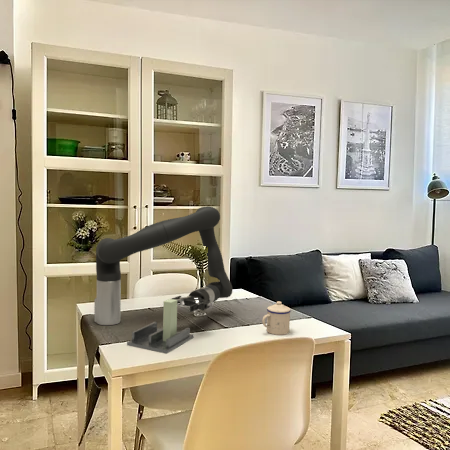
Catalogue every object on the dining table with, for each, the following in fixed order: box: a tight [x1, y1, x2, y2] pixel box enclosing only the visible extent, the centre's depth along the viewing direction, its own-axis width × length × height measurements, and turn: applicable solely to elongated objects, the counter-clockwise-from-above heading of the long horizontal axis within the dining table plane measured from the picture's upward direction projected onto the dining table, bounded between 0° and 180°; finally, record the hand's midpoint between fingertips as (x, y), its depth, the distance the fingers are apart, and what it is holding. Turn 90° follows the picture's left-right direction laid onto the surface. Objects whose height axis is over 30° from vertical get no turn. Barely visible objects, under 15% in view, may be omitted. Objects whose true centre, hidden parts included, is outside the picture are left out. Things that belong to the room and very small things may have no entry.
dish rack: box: [126, 321, 195, 354], centre depth 158 cm, size 16×18×4 cm
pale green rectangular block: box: [162, 298, 178, 341], centre depth 156 cm, size 3×4×14 cm
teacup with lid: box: [261, 300, 291, 336], centre depth 171 cm, size 12×9×12 cm
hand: (180, 307), depth 162 cm, fingers open, 8 cm apart
